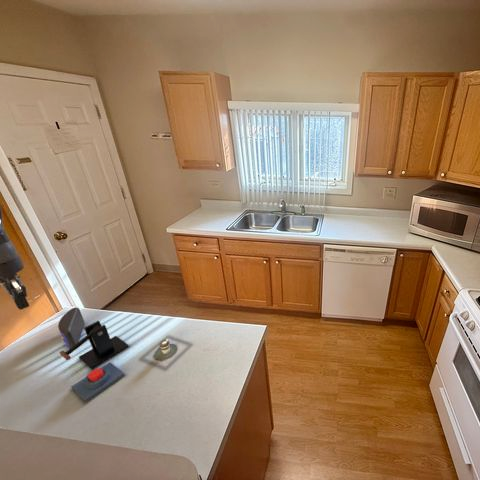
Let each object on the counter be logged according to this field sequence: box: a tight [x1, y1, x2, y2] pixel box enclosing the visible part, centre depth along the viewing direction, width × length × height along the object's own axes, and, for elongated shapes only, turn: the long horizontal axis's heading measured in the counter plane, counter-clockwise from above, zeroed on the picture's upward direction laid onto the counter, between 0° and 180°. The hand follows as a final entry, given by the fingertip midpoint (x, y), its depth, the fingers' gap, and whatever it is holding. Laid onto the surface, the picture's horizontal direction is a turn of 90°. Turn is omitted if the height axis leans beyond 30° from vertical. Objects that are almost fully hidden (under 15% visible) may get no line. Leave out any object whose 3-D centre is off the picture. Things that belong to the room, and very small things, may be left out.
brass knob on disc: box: [153, 338, 178, 361], centre depth 97 cm, size 12×12×5 cm
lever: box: [59, 325, 99, 361], centre depth 88 cm, size 12×5×2 cm, turn 151°
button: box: [87, 367, 104, 382], centre depth 84 cm, size 4×4×2 cm
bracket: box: [78, 320, 130, 371], centre depth 93 cm, size 12×9×13 cm
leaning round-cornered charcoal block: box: [57, 307, 85, 349], centre depth 100 cm, size 16×5×9 cm, turn 31°
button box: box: [70, 362, 125, 403], centre depth 85 cm, size 11×9×3 cm
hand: (23, 307), depth 78 cm, fingers closed
